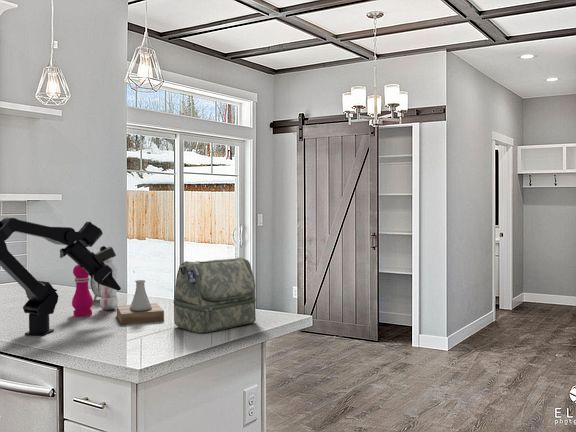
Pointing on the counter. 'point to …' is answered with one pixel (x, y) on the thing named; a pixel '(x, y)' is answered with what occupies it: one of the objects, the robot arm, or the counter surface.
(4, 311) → the counter surface
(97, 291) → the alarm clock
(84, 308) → the pepper mill
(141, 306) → the flask
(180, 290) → the lunch bag
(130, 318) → the board
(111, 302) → the plastic bottle
